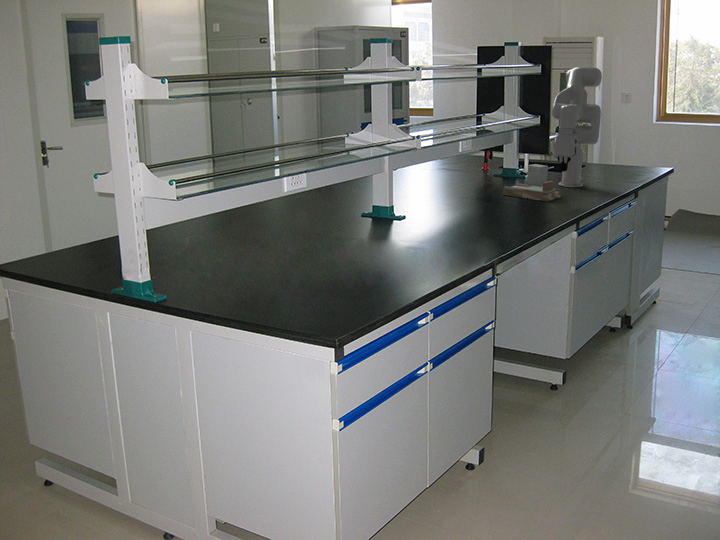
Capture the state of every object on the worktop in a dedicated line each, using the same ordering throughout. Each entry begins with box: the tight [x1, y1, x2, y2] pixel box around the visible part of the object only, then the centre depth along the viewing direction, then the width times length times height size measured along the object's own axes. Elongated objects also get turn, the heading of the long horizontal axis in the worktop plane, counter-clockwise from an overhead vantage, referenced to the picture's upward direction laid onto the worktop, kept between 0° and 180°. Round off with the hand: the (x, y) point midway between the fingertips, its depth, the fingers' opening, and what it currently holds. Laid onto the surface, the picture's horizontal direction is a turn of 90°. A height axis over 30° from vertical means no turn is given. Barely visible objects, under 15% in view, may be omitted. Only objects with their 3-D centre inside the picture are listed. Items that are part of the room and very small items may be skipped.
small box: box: [526, 163, 549, 187], centre depth 384 cm, size 8×6×13 cm
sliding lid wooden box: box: [502, 183, 562, 202], centre depth 372 cm, size 14×24×4 cm, turn 49°
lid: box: [524, 180, 556, 193], centre depth 369 cm, size 10×12×5 cm
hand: (563, 171), depth 358 cm, fingers closed
